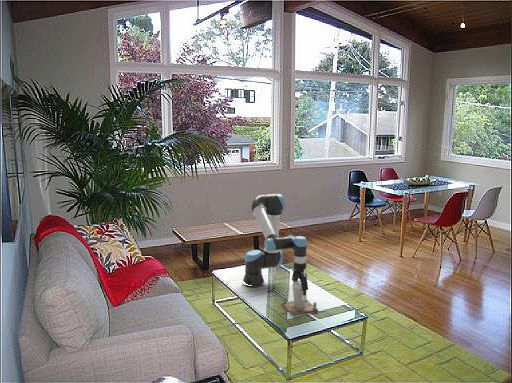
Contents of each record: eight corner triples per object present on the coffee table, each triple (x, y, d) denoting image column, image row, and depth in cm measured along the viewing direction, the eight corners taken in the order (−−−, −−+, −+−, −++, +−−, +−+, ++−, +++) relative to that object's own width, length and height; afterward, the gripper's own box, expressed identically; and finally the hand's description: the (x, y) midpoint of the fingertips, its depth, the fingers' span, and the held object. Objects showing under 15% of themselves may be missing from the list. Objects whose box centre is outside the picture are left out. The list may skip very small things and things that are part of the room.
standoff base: (281, 304, 267) (281, 296, 266) (306, 300, 272) (306, 293, 272) (292, 315, 251) (292, 307, 250) (318, 311, 256) (318, 303, 256)
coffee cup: (289, 308, 259) (289, 284, 256) (294, 301, 268) (294, 279, 265) (304, 310, 255) (305, 287, 253) (308, 304, 264) (309, 281, 261)
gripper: (286, 256, 267) (286, 289, 271) (302, 268, 245) (302, 304, 248) (297, 255, 270) (297, 288, 273) (314, 267, 247) (313, 302, 251)
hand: (299, 296), depth 261 cm, fingers open, 11 cm apart
